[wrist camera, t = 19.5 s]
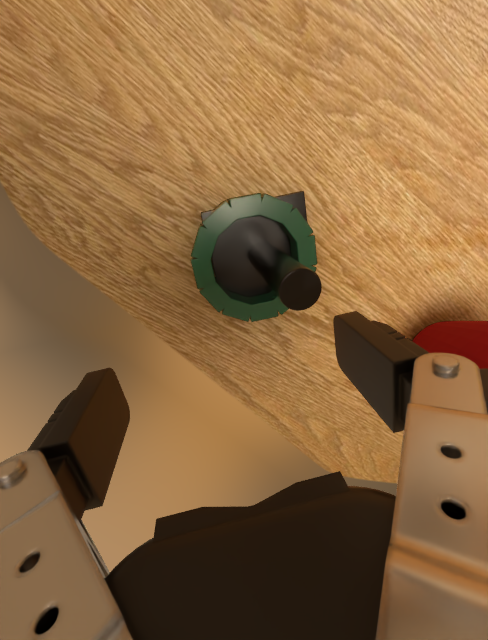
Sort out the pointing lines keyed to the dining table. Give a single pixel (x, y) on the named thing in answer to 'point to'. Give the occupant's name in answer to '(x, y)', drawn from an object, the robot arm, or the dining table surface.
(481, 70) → the dining table surface
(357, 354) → the robot arm
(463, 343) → the vase
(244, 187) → the dining table surface
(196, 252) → the ring
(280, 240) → the post
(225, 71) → the dining table surface
